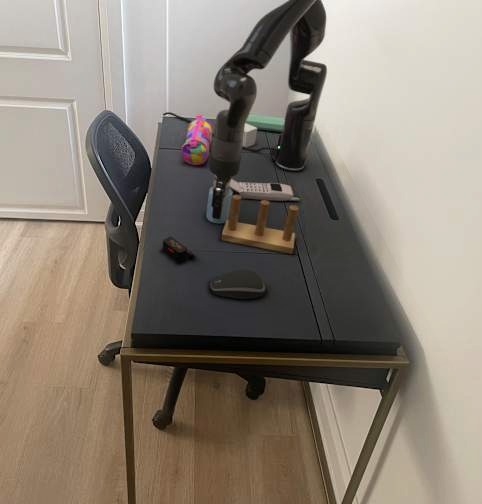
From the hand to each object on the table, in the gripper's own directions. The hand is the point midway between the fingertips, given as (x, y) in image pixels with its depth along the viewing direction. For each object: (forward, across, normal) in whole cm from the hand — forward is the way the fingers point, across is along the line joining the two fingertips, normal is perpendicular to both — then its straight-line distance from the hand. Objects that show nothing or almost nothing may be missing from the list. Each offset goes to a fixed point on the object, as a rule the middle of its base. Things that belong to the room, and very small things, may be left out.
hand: (218, 211), depth 132 cm
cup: (+2, 0, 0) cm, 2 cm away
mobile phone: (+2, +16, -8) cm, 18 cm away
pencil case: (+2, +37, +14) cm, 40 cm away
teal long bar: (+2, +68, -5) cm, 68 cm away
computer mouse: (+2, -28, -10) cm, 30 cm away
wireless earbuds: (+2, -20, +6) cm, 21 cm away
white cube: (+2, +52, 0) cm, 52 cm away
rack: (+2, -7, -12) cm, 14 cm away
